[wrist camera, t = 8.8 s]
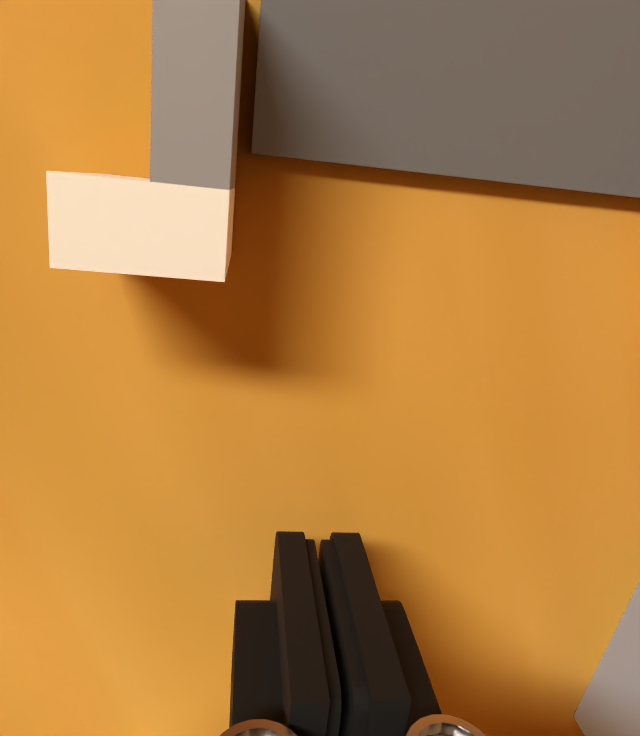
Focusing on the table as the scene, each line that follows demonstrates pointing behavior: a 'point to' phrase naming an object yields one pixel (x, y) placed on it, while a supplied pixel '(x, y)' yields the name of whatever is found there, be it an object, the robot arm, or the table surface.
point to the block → (615, 682)
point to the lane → (359, 113)
